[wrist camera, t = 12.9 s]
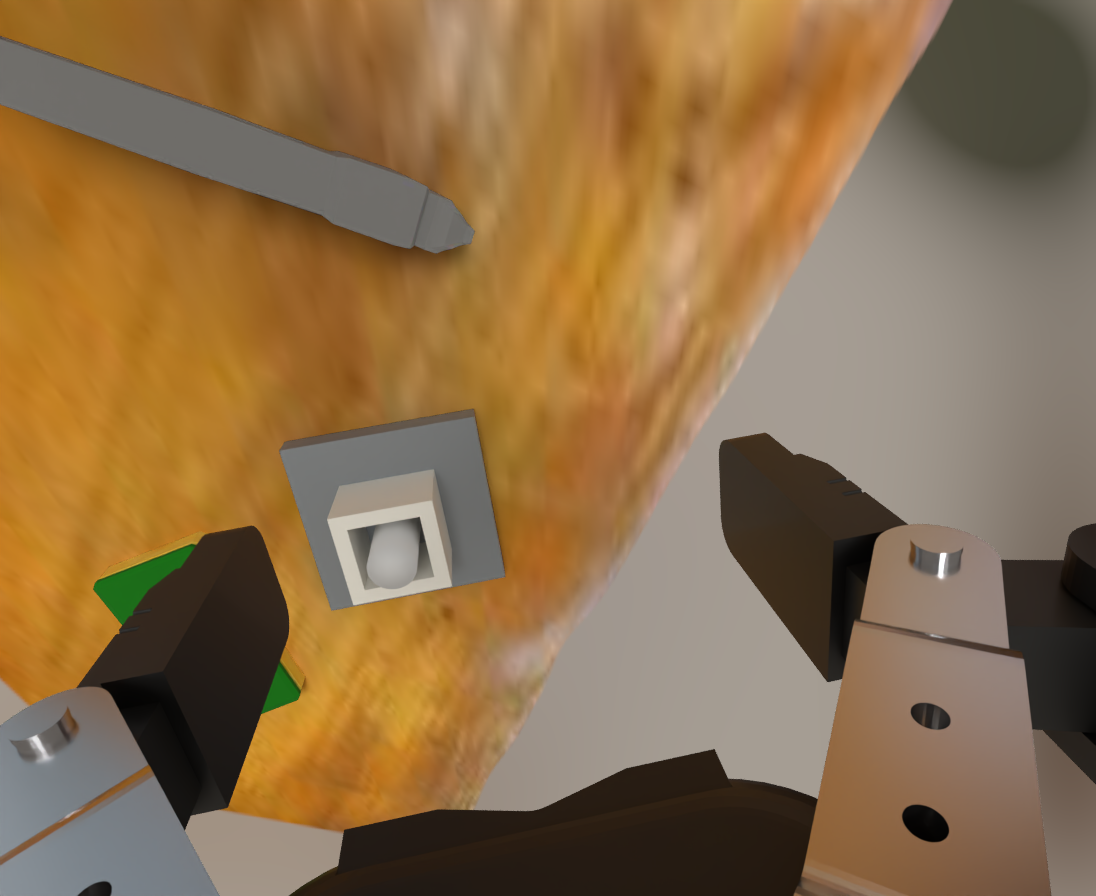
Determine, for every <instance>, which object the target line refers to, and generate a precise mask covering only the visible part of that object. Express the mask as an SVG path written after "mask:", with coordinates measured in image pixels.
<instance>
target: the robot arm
mask: <svg viewBox="0 0 1096 896" xmlns="http://www.w3.org/2000/svg"><path fill="white" fill-rule="evenodd" d="M719 470H720V498H721V522H722V529H723V533H724V537H725V540H726V543H727V545H728V548H729V550H730V552H731V553H732V555H733V556H734V558H735V559H736V560H737V562H738V563H739V564H740V566H741V567H742V568H743V570H744V571H745V572H746V574H747V575H748V576H749V578H750V579H751V580H752V582H753V583H754V584H755V586H756V587H757V588H758V590H759V591H760V592H761V594H762V595H763V596H764V598H765V599H766V600H767V602H768V603H769V605H770V606H771V607H772V609H773V610H774V611H775V612H776V614H777V615H778V616H779V618H780V619H781V621H782V622H783V623H784V625H785V626H786V627H787V628H788V630H789V631H790V633H791V634H792V635H793V637H794V638H795V639H796V641H797V642H798V643H799V645H800V646H801V647H802V649H803V650H804V651H805V653H806V654H807V655H808V657H809V658H810V659H811V661H812V662H813V663H814V665H815V666H816V667H817V669H818V670H819V671H820V673H821V674H822V676H823V677H824V678H825V679H826V681H827V682H831V681H835V680H839V679H842V683H841V688H840V693H839V698H838V703H837V707H836V712H835V717H834V722H833V727H832V732H831V738H830V742H829V747H828V752H827V756H826V761H825V767H824V771H823V776H822V781H821V786H820V791H819V796H818V799H816V798H814V797H812V796H809V795H807V794H804V793H801V792H798V791H795V790H792V789H789V788H786V787H782V786H777V785H773V784H769V783H765V782H757V781H750V780H742V779H728V778H727V775H726V773H725V771H724V769H723V767H722V765H721V762H720V760H719V758H718V756H717V754H716V752H715V749H713V750H708V751H704V752H700V753H695V754H690V755H686V756H681V757H677V758H672V759H668V760H663V761H658V762H654V763H649V764H644V765H640V766H635V767H631V768H626V769H624V770H622V771H620V772H618V773H616V774H614V775H611V776H610V777H608V778H605V779H603V780H601V781H599V782H597V783H595V784H593V785H591V786H589V787H587V788H584V789H582V790H580V791H578V792H576V793H574V794H572V795H570V796H568V797H565V798H563V799H561V800H559V801H557V802H555V803H553V804H551V805H549V806H547V807H544V808H542V809H539V810H534V811H487V810H485V811H484V810H433V811H429V812H424V813H420V814H415V815H410V816H406V817H401V818H397V819H392V820H388V821H383V822H378V823H374V824H369V825H365V826H360V827H355V828H351V829H346V830H344V834H343V840H342V846H341V852H340V859H339V865H338V866H337V867H335V868H333V869H331V870H329V871H327V872H325V873H323V874H321V875H320V876H318V877H316V878H315V879H313V880H311V881H310V882H308V883H306V884H305V885H303V886H302V887H300V888H299V889H297V890H296V891H295V892H293V893H292V894H291V895H289V896H1051V888H1050V879H1049V870H1048V861H1047V853H1046V844H1045V836H1044V827H1043V818H1042V810H1041V801H1040V793H1039V784H1038V775H1037V767H1036V758H1035V749H1034V741H1033V732H1032V729H1037V730H1043V731H1044V732H1045V733H1046V734H1047V735H1048V736H1049V737H1050V738H1051V739H1052V740H1053V741H1054V742H1055V743H1056V744H1057V745H1058V746H1059V747H1060V748H1061V749H1062V750H1063V751H1064V753H1066V755H1067V756H1068V757H1069V758H1070V759H1071V760H1072V761H1073V762H1074V763H1075V764H1076V765H1077V766H1078V767H1079V768H1080V769H1081V770H1082V771H1083V772H1084V773H1085V774H1086V775H1087V776H1088V777H1089V778H1090V779H1091V780H1092V781H1093V782H1094V783H1095V784H1096V524H1090V525H1086V526H1082V527H1080V528H1077V529H1076V530H1074V531H1073V532H1072V533H1071V534H1070V535H1069V539H1068V542H1067V547H1066V552H1065V557H1064V560H1001V559H1000V556H999V554H998V553H997V551H996V550H995V549H994V548H993V547H992V546H991V545H989V544H988V543H987V542H985V541H983V540H982V539H980V538H978V537H977V536H974V535H972V534H970V533H967V532H964V531H961V530H958V529H954V528H950V527H945V526H939V525H930V524H911V525H908V524H907V523H905V522H904V521H903V520H901V519H900V518H899V517H897V516H896V515H895V514H893V513H892V512H891V511H890V510H888V509H887V508H886V507H884V506H883V505H882V504H880V503H879V502H878V501H876V500H875V499H874V498H872V497H871V496H870V495H868V494H867V493H866V492H864V493H862V491H861V488H859V487H858V486H857V485H855V484H854V483H852V482H851V481H850V480H849V481H847V480H846V477H845V476H843V475H842V474H841V473H839V472H838V471H837V470H835V469H834V468H833V467H832V466H830V465H829V464H827V463H825V462H822V461H819V460H816V459H813V458H811V457H808V456H805V455H803V454H797V455H793V454H792V453H791V452H790V451H788V450H787V449H786V448H785V447H783V446H782V445H781V444H780V443H779V442H777V441H776V440H775V439H774V438H772V437H771V436H770V435H768V434H767V433H761V434H755V435H750V436H745V437H739V438H734V439H728V440H724V441H722V443H721V445H720V449H719ZM119 631H120V634H117V635H115V636H114V638H113V639H112V640H111V642H110V643H109V644H108V646H107V647H106V648H105V650H104V651H103V653H102V654H101V655H100V657H99V658H98V659H97V661H96V662H95V663H94V665H93V666H92V667H91V669H90V670H89V672H88V673H87V674H86V676H85V677H84V678H83V680H82V681H81V682H80V684H79V685H78V687H77V688H75V689H71V690H67V691H64V692H60V693H57V694H55V695H52V696H50V697H47V698H45V699H43V700H41V701H39V702H36V703H34V704H33V705H31V706H29V707H27V708H25V709H24V710H22V711H20V712H19V713H17V714H16V715H14V716H13V717H11V718H10V719H9V720H7V721H6V722H4V723H3V724H2V725H0V896H220V895H219V894H218V892H217V890H216V888H215V886H214V885H213V883H212V881H211V879H210V877H209V875H208V873H207V872H206V870H205V868H204V866H203V864H202V862H201V860H200V858H199V856H198V855H197V853H196V851H195V849H194V847H193V845H192V844H191V842H190V840H189V838H188V836H187V834H186V832H185V829H186V826H187V824H188V821H189V819H190V816H191V815H196V814H200V813H205V812H210V811H215V810H219V809H224V808H228V806H229V803H230V800H231V797H232V794H233V791H234V789H235V786H236V783H237V780H238V777H239V775H240V772H241V769H242V766H243V763H244V761H245V758H246V755H247V752H248V749H249V746H250V744H251V741H252V738H253V735H254V732H255V730H256V727H257V724H258V721H259V718H260V716H261V713H262V710H263V707H264V704H265V701H266V699H267V696H268V693H269V690H270V687H271V685H272V682H273V679H274V676H275V673H276V671H277V668H278V665H279V662H280V659H281V656H282V654H283V651H284V648H285V645H286V642H287V639H288V634H289V615H288V609H287V604H286V601H285V598H284V595H283V593H282V590H281V587H280V584H279V582H278V579H277V576H276V573H275V570H274V568H273V565H272V562H271V559H270V557H269V554H268V551H267V548H266V545H265V543H264V540H263V537H262V535H261V533H260V532H259V530H258V529H257V528H256V527H254V526H247V527H242V528H237V529H231V530H226V531H220V532H215V533H209V534H205V535H204V536H203V537H202V538H201V539H200V541H199V542H198V543H197V545H196V546H195V548H194V549H193V551H192V552H191V554H190V555H189V556H188V558H187V559H186V561H185V562H184V564H183V565H182V566H181V568H179V569H175V570H173V571H172V572H171V573H170V574H168V575H167V576H166V577H165V578H163V579H162V580H161V581H159V582H158V583H157V584H156V585H154V586H153V587H152V588H150V589H149V590H148V591H147V593H146V594H145V595H144V597H143V598H142V600H141V601H140V602H139V604H138V605H137V606H136V608H135V609H134V610H133V616H129V617H128V619H127V620H126V621H125V623H124V624H123V625H122V627H121V628H120V629H119Z"/></svg>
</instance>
